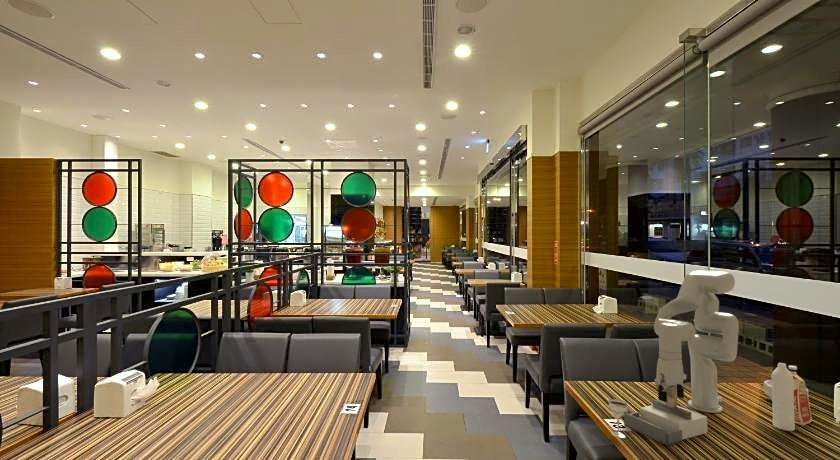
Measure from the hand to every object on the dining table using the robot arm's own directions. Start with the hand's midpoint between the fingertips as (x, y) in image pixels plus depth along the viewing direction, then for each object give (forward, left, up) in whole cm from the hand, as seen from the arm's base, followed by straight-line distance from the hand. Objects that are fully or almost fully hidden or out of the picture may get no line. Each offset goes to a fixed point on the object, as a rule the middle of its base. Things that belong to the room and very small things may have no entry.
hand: (671, 398), depth 161 cm
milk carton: (-55, +14, -11) cm, 58 cm away
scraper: (0, 0, -5) cm, 5 cm away
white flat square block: (-1, 0, -11) cm, 11 cm away
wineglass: (+24, -4, -11) cm, 27 cm away
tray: (+11, 0, -11) cm, 16 cm away
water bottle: (-41, +18, -11) cm, 46 cm away
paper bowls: (-73, +3, -12) cm, 74 cm away
